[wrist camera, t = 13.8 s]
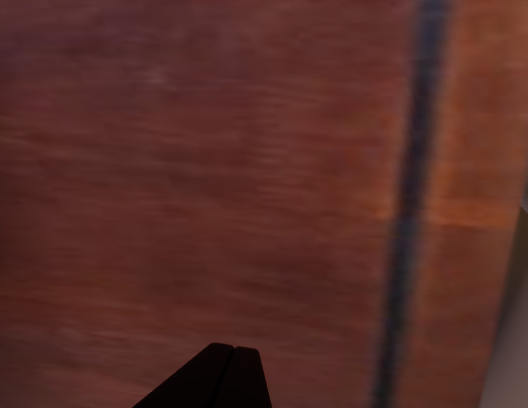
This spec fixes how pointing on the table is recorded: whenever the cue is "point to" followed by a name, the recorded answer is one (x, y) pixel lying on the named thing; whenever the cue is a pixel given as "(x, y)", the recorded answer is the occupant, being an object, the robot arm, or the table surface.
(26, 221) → the table surface
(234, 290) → the table surface
